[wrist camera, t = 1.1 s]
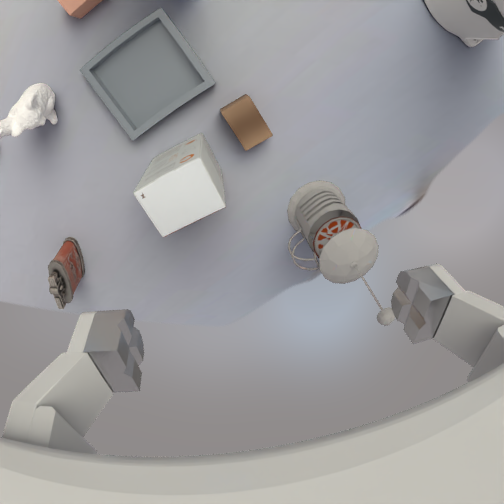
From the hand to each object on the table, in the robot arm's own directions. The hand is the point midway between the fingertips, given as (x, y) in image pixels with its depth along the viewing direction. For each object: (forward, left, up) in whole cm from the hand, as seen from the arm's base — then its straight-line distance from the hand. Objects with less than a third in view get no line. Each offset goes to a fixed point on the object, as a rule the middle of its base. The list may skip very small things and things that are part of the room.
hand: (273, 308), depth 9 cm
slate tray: (+5, -11, -36) cm, 38 cm away
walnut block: (-2, +2, -36) cm, 36 cm away
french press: (-4, +20, -36) cm, 41 cm away
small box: (+8, +3, -36) cm, 37 cm away
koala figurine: (+20, -18, -36) cm, 45 cm away
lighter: (+34, +4, -36) cm, 50 cm away
